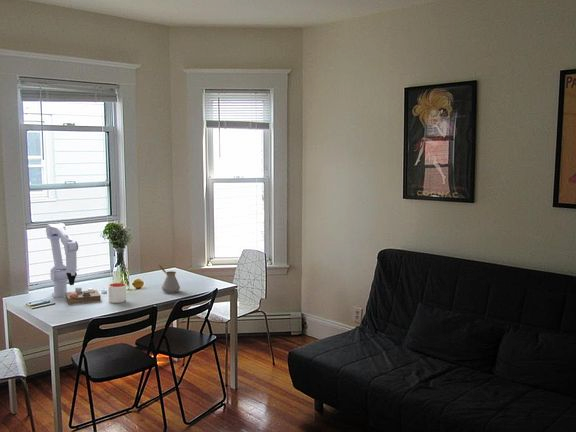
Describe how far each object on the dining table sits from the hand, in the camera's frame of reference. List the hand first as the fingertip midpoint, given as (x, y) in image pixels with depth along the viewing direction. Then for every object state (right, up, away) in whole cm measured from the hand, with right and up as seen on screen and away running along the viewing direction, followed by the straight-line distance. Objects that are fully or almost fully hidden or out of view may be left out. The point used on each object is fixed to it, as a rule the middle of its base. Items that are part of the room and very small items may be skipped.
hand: (71, 285), depth 324 cm
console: (+4, -10, +7) cm, 13 cm away
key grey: (+1, -6, +9) cm, 11 cm away
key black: (+7, -8, +5) cm, 12 cm away
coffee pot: (+48, -8, +35) cm, 60 cm away
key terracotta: (+1, -9, +1) cm, 9 cm away
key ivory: (+7, -7, +12) cm, 16 cm away
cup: (+25, -11, +6) cm, 28 cm away
